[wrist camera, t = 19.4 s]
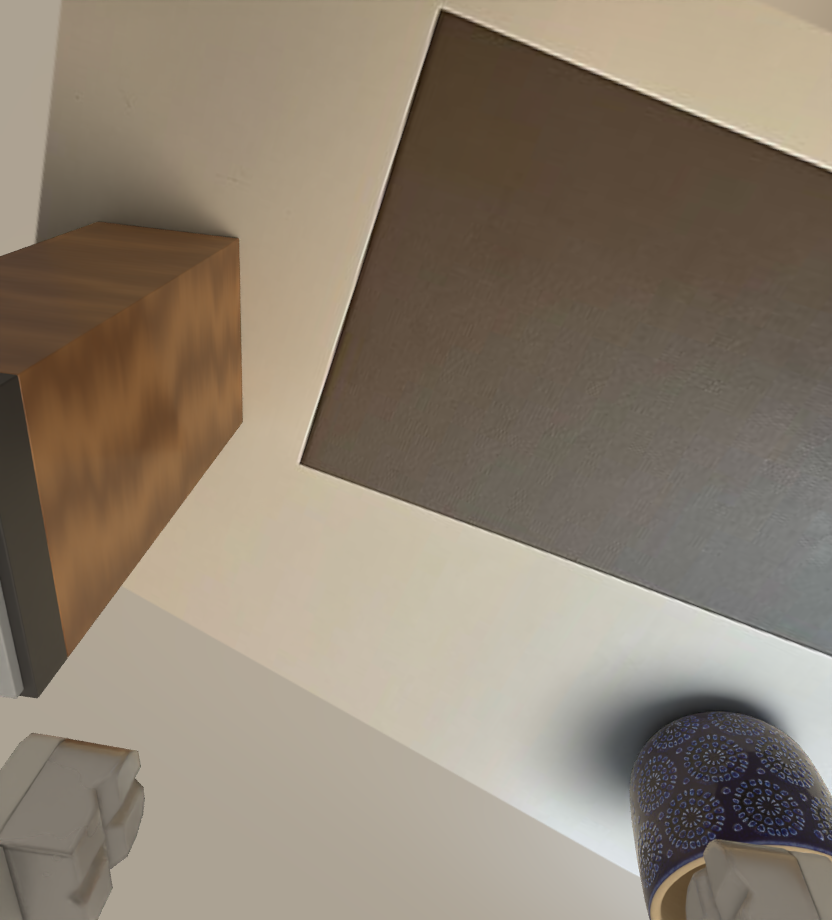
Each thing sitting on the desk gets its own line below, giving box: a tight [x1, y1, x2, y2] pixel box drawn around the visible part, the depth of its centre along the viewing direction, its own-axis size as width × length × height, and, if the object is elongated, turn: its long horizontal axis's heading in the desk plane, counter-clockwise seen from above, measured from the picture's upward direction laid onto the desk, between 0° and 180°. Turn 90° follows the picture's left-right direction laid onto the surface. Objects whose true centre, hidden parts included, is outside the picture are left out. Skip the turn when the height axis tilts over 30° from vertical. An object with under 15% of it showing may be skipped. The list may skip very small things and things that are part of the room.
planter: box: [630, 711, 832, 920], centre depth 61 cm, size 17×16×15 cm
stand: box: [0, 222, 243, 657], centre depth 42 cm, size 14×10×26 cm
